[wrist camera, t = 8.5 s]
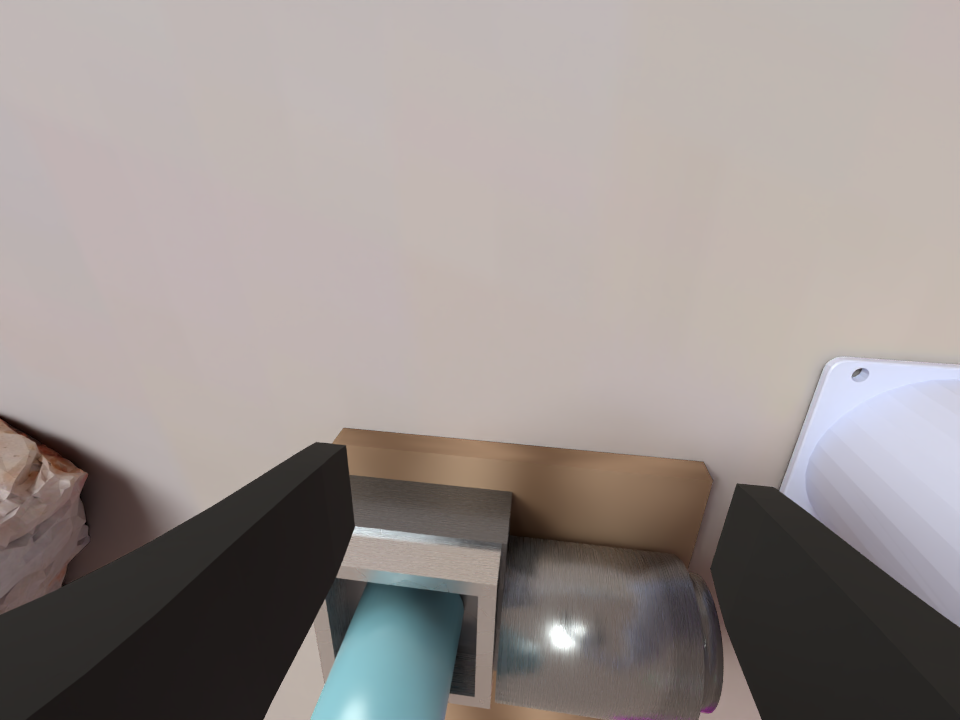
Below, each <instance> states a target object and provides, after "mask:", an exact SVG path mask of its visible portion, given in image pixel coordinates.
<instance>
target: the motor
mask: <svg viewBox="0 0 960 720" xmlns="http://www.w3.org/2000/svg"><path fill="white" fill-rule="evenodd" d="M349 476H350V485H351V494H352V503H353V512H354V522H355V528H354V531H353V534H352V537H351V539H350V542H349V545H348V548H347V551H346V553H345V556H344V558H343V561H342V564H341V566H340V569H339V571H338V574H337V576H336V578H335V580H334V582H333V584H332V586H331V588H330V590H329V592H328V594H327V596H326V598H325V600H324V602H323V604H322V606H321V608H320V610H319V612H318V614H317V616H316V618H315V620H314V627H315V632H316V638H317V644H318V649H319V655H320V661H321V667H322V672H323V678H324V684H325V683H326V681H327V678H328V676H329V673H330V671H331V668H332V666H333V664H334V661H335V659H336V656H337V654H338V652H339V649H340V647H341V644H342V642H343V640H344V637H345V635H346V632H347V630H348V627H349V625H350V623H351V620H352V618H353V615H354V613H355V611H356V608H357V606H358V603H359V601H360V599H361V596H362V594H363V591H364V589H365V587H366V584H367V582H372V583H380V584H387V585H395V586H403V587H411V588H418V589H426V590H434V591H441V592H449V593H457V594H459V595H460V597H461V599H462V602H463V605H464V616H463V621H462V627H461V632H460V638H459V643H458V649H457V654H456V660H455V665H454V671H453V676H452V682H451V688H450V693H449V699H448V703H452V704H459V705H465V706H472V707H478V708H485V709H490V703H491V693H492V683H493V673H494V671H497V674H496V689H495V703H500V704H506V705H513V706H519V707H526V708H532V709H539V710H545V711H552V712H558V713H565V714H571V715H578V716H584V717H591V718H597V719H604V720H698V718H699V715H700V712H702V713H711V712H713V711H714V710H715V708H716V707H717V705H718V703H719V699H720V696H721V691H722V683H723V647H722V638H721V631H720V625H719V620H718V616H717V611H716V608H715V604H714V601H713V598H712V596H711V593H710V591H709V589H708V587H707V585H706V583H705V582H704V580H703V579H702V578H701V577H700V576H699V575H698V574H695V573H688V571H687V569H686V567H685V565H684V563H683V562H682V560H681V559H680V558H679V557H678V556H676V555H674V554H668V553H660V552H651V551H642V550H634V549H625V548H616V547H608V546H599V545H590V544H582V543H573V542H564V541H556V540H547V539H538V538H530V537H521V536H512V535H509V532H510V517H511V502H512V492H509V491H500V490H490V489H481V488H471V487H462V486H452V485H443V484H433V483H424V482H414V481H405V480H395V479H386V478H376V477H367V476H357V475H349Z"/></svg>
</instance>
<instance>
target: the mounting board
mask: <svg viewBox="0 0 960 720" xmlns="http://www.w3.org/2000/svg"><path fill="white" fill-rule="evenodd" d="M332 444H339V445H346V448H347V457H348V467H349V475H357V476H367V477H376V478H386V479H395V480H405V481H414V482H424V483H433V484H443V485H452V486H462V487H471V488H481V489H490V490H500V491H509V492H512V502H511V517H510V532H509V535H512V536H521V537H530V538H538V539H547V540H556V541H564V542H573V543H582V544H590V545H599V546H608V547H616V548H625V549H634V550H642V551H651V552H660V553H668V554H674V555H676V556H678V557H679V558H680V559H681V560H682V562H683V563H684V565H685V567H686V569H687V570H688V567H689V563H690V560H691V556H692V553H693V549H694V546H695V542H696V539H697V535H698V532H699V528H700V525H701V521H702V518H703V514H704V511H705V507H706V504H707V500H708V497H709V493H710V490H711V486H712V483H713V480H712V478H711V476H710V474H709V472H708V470H707V468H706V466H705V464H704V463H703V462H699V461H688V460H678V459H667V458H656V457H646V456H635V455H625V454H614V453H603V452H593V451H582V450H572V449H561V448H550V447H540V446H529V445H519V444H508V443H497V442H487V441H476V440H466V439H455V438H444V437H434V436H423V435H413V434H402V433H391V432H381V431H370V430H360V429H349V428H343V429H342V431H341V432H340V433H339V435H338V436H337V437H336V439H335V440H334V441H333V443H332ZM496 674H497V671H494V673H493V683H492V693H491V703H490V709H485V708H478V707H472V706H465V705H459V704H452V703H448V704H447V710H446V715H445V720H604V719H597V718H591V717H584V716H578V715H571V714H565V713H558V712H552V711H545V710H539V709H532V708H526V707H519V706H513V705H506V704H500V703H495V689H496Z"/></svg>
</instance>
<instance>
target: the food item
mask: <svg viewBox="0 0 960 720" xmlns="http://www.w3.org/2000/svg"><path fill="white" fill-rule="evenodd" d="M87 476H88V473H86V472H84V471H83V470H81V469H78V468H77V467H76V466H75V465H74V464H73V463H72V462H71V461H69V460H68V459H65V458H63V457H62V456H61V455H60V454H59V453H57V452H56V451H54V450H52V449H50V448H48V447H47V446H46V445H43V444H42V443H41V442H39V441H38V440H36V439H34V438H32V437H31V436H29V435H27V434H26V433H24V432H22V431H20V430H18V429H16V428H14V427H12V426H10V425H9V424H8V423H6V422H5V421H3V420H2V419H0V615H1V614H3V613H6V612H8V611H10V610H12V609H15V608H17V607H19V606H21V605H24V604H26V603H28V602H31V601H33V600H35V599H37V598H40V597H42V596H44V595H46V594H48V593H51V592H53V591H55V590H57V589H59V588H61V587H62V582H63V580H64V577H65V575H66V570H67V564H68V563H69V562H70V561H71V560H72V559H73V558H74V557H75V555H77V554H78V553H79V552H80V551H81V550H82V549H83V548H84V547H85V546H86V545H87V544H88V543H89V541H90V536H88V526H87V525H85V522H86V518H85V512H84V507H83V503H82V501H81V499H80V498H79V496H80V493H81V490H82V488H83V486H84V483H85V481H86V479H87Z"/></svg>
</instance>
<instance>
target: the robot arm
mask: <svg viewBox="0 0 960 720" xmlns="http://www.w3.org/2000/svg"><path fill="white" fill-rule="evenodd" d="M859 368H862V371H861V372H860V374H859V375H857V376H855V377H852V374H853V372H854V371H855V370H857V369H859ZM354 528H355V522H354V512H353V503H352V494H351V485H350V476H349V467H348V457H347V448H346V445H339V444H329V443H319V442H316V443H314V444H312V445H310V446H309V447H307V448H305V449H303V450H302V451H300V452H298V453H297V454H295V455H293V456H292V457H290V458H289V459H287V460H285V461H284V462H282V463H281V464H279V465H278V466H276V467H274V468H273V469H271V470H270V471H268V472H266V473H265V474H263V475H262V476H260V477H259V478H257V479H255V480H254V481H252V482H251V483H249V484H247V485H246V486H244V487H243V488H241V489H239V490H238V491H236V492H234V493H233V494H231V495H230V496H228V497H226V498H225V499H223V500H222V501H220V502H218V503H217V504H215V505H213V506H212V507H210V508H208V509H207V510H205V511H203V512H201V513H200V514H198V515H196V516H194V517H193V518H191V519H189V520H188V521H186V522H184V523H182V524H181V525H179V526H177V527H175V528H174V529H172V530H170V531H168V532H167V533H165V534H163V535H162V536H160V537H158V538H156V539H155V540H153V541H151V542H149V543H148V544H146V545H144V546H142V547H140V548H138V549H136V550H135V551H133V552H131V553H129V554H127V555H125V556H123V557H121V558H119V559H117V560H115V561H114V562H112V563H110V564H108V565H106V566H104V567H102V568H100V569H98V570H96V571H94V572H92V573H90V574H88V575H86V576H83V577H81V578H79V579H77V580H75V581H73V582H71V583H69V584H67V585H65V586H63V587H61V588H59V589H57V590H55V591H53V592H51V593H48V594H46V595H44V596H42V597H40V598H37V599H35V600H33V601H31V602H28V603H26V604H24V605H21V606H19V607H17V608H15V609H12V610H10V611H8V612H6V613H3V614H1V615H0V720H263V719H264V717H265V715H266V713H267V711H268V709H269V707H270V705H271V702H272V700H273V698H274V696H275V695H276V693H277V691H278V689H279V687H280V685H281V683H282V681H283V679H284V677H285V675H286V673H287V672H288V670H289V668H290V666H291V664H292V662H293V660H294V658H295V656H296V654H297V652H298V650H299V648H300V647H301V645H302V643H303V641H304V639H305V637H306V635H307V633H308V631H309V629H310V627H311V625H312V624H313V622H314V620H315V618H316V616H317V614H318V612H319V610H320V608H321V606H322V604H323V602H324V600H325V598H326V596H327V594H328V592H329V590H330V588H331V586H332V584H333V582H334V580H335V578H336V576H337V574H338V571H339V569H340V566H341V564H342V561H343V558H344V556H345V553H346V551H347V548H348V545H349V542H350V539H351V537H352V534H353V531H354ZM710 569H711V573H712V577H713V581H714V585H715V589H716V593H717V597H718V601H719V605H720V608H721V612H722V616H723V619H724V623H725V627H726V629H727V632H728V635H729V637H730V640H731V643H732V645H733V648H734V650H735V653H736V655H737V658H738V661H739V663H740V666H741V668H742V671H743V673H744V676H745V679H746V681H747V684H748V686H749V689H750V691H751V694H752V696H753V699H754V701H755V704H756V706H757V709H758V711H759V714H760V716H761V719H762V720H960V365H959V364H944V363H930V362H915V361H901V360H887V359H872V358H858V357H836V358H834V359H832V360H830V361H829V362H828V363H827V364H826V365H825V367H824V368H823V371H822V374H821V377H820V379H819V382H818V385H817V388H816V390H815V393H814V396H813V399H812V402H811V404H810V407H809V410H808V413H807V415H806V418H805V421H804V424H803V426H802V429H801V432H800V435H799V438H798V440H797V443H796V446H795V449H794V451H793V454H792V457H791V460H790V463H789V465H788V468H787V471H786V474H785V476H784V479H783V482H782V485H781V487H780V490H779V491H778V490H777V489H775V488H774V487H766V486H756V485H746V484H737V485H736V488H735V491H734V494H733V498H732V501H731V504H730V507H729V511H728V514H727V517H726V520H725V523H724V527H723V530H722V533H721V536H720V539H719V543H718V546H717V549H716V552H715V555H714V559H713V562H712V565H711V568H710Z"/></svg>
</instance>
